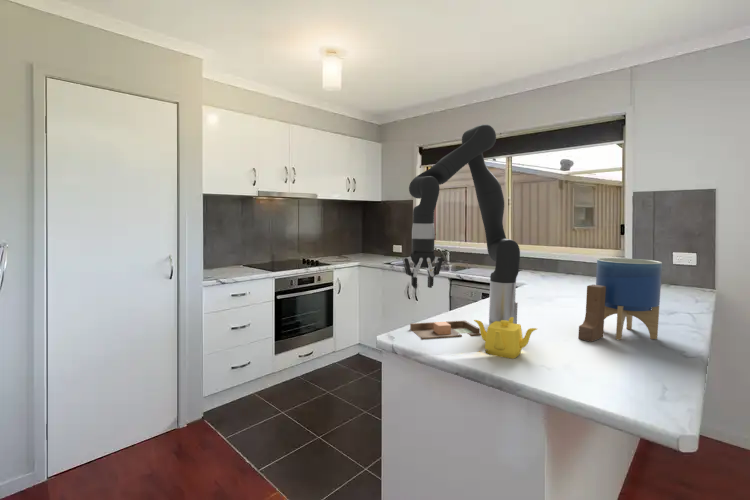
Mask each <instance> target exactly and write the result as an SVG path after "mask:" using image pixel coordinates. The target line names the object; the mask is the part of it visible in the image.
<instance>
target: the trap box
mask: <svg viewBox="0 0 750 500" xmlns="http://www.w3.org/2000/svg"><path fill="white" fill-rule="evenodd" d="M434 322H435V321H432V322H431V321H430V322H428V321H427V322H414V323H413V322H411V323H409V325H410V326H409V328H410V331H412V332H413V333H414V334H415V335H416V336H418V337H419V338H420V339H421V340H431V339H432V340H433V339H446V338H447V339H449V338H461V337H463V336H462V334H467V335H469V336H470V337H477V336H479V337H480V336H481V333H480V327H479V326H477V325H474V324H472V323H470V322H469V321H467V320H463V319H462V320H450V321H449V320H448V321H445V322H447V323H449V324H450V325H451V334H439V335H438V334H437V333H436V332H434V331H433V328H434Z"/></svg>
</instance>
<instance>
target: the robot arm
mask: <svg viewBox="0 0 750 500" xmlns="http://www.w3.org/2000/svg"><path fill="white" fill-rule="evenodd" d="M496 141H497V135H496V131H495V129H494V127H493V126H491V125H489V124H480V125H477V126H474V127H472V128H470V129H467V130H466V131H464V132H463V134H462V136H461V145H460V146H459V147H457V148H456V149H454V150H453V151H451V152H449V153H448V154H446V155H445V156H443V157H442V158H440V159H439V160H438V161H437V162H436V163H435V164H434V165H433V166H432V167H430V168H428V169H426V170H425V171H423V172H422V173H420V174H418V175H417V176H415V177H414V178H413V179H411V182H410V183H409V187H408V191H409V192H408V193H409V194H410V196H412V197H413V198H414V199H420V200H419V201H420V202H419V204H418V205H416V206H414V207H413V209H412V210H413V211H412V226H411V227H412V228H411V254H410V255H409V256H408V257H407V256H406V257H402V264H403V267H404V271H405V275H407V276H409V277H410V278H411V280H410V281H411V287H412V288H413V289H418V277H417V276H418V273H419V272H420V269H421V268H425V269H426V272H427V275H428V276H427V288H429V289H431V288H433V286H434V277H436V276H438V275H440V272H441V268H442V265H443V260H444V259H443V257H440V256H436V255H435V237H436V234H435V232H436V231H435V210H436V206H437V203H438V200H439V195H440V186H441V185H443V184H445V183H446V182H448V181H449V180H450V179H451V178H452V177H453V176H454V175H456V174H457V172H459V171H460V170H462V168H464V167H465V166H466V165H468V168H469V170H470V175H471V177H472V181H473V186H474V190H475V195H476V199H477V203H478V207H479V210H480V215H481V216H480V217H481V221H482V223H483V227H484V233H485V234H484V235H485V240H486V249H487V254H488V256H489V258H490V259H491V260H492V261H494V262H495V269H494V271H493V272H491V274H490V277H489V279H490V281H489V310H488V311H489V313H488V326H489V325H490V324H492V323H493V322H495V321H501V320H507V321H509V318H511V317H513V318H514V319H513V323H514V324H518V306H519V305H518V302H517V301H516V295H517V294H516V291H517V290H516V289H517V277H518V275H519V270H520V259H521V250H520V246H519V243H518V242H517V241H515V240H513V239H510V238H507V237H506V232H505V230H504V223H503V222H504V220H503V219H504V212H505V198H504V193H503V190H502V186H501V183H500V182H499V180H498V178H496V176H495V175H494V174H493V173H492V171H490V169H489V168H488V166H487V163H486V162H485V158H484V155H483V153H484V152H486V151H488V150H490V149H492V148H493V147H494V145H495V143H496ZM411 261H412V263H413V265H412V268H411V266H410V264H411ZM433 262H434V263H435V264H434V268H433V264H432V263H433ZM411 269H412V270H411Z"/></svg>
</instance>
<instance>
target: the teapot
mask: <svg viewBox="0 0 750 500" xmlns="http://www.w3.org/2000/svg"><path fill="white" fill-rule="evenodd" d="M513 319H514V318H513V317H511V318H509V321H507V320H501V321H495V322H493V323H492V324H490V325H489V324H488V326H487V330H486V329H485V326H484V324H483V322H482V321H480V320H479V319H478V320H477V319H473V321H474V322H475V323H477V325H478V328H479V329H480V333H481V335H480V336H481V338H482V340H483V341H484V342H485V343H484V349H485V350H484V351H485V354H486V355H491V356H495V357H501V358H505V359H512V360H515V359H517V357H519V356H520V354H521V352H522V349H523V348H525V347H526V346H527V345H528V344H529V342H530V338H531V335H532V333H533V332H534V331H536V330H538V328H537V327H532V328H528V329H527V331H526V332H525V334H524V336H523V332H522V330H523V329H522V325H521V324H520V323H517V324H514V323H513Z"/></svg>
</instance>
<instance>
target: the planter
mask: <svg viewBox="0 0 750 500" xmlns="http://www.w3.org/2000/svg"><path fill="white" fill-rule="evenodd" d="M662 269H663V262H662V261H658V260H653V259H640V258H626V257H625V258H624V257H623V258H622V257H602V258H597V259H596V276H595V277H596V278H595V285H601V286H606V293H605V312H604V320H606V319H607V318H608V317H610V316H612V315H616V314H617V317H616V330H615V331H616V333H615V340H617V339H618V340H619V341H621V340H622V339H623V337H622V336H623V330H624V323H625V320H626V330H630V331H631V330H632V327H633V318H636V319H638V320H639V321H641V322H642V323H643V324H644V326H645V327H646V329H647V330H648V333H649V339H650V340H654V339H657V340H658V335H659V334H658V333H659V332H658V331H659V322H660V321H659V320H660V319H659V317H660V302H661V287H662V273H663V272H662Z"/></svg>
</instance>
